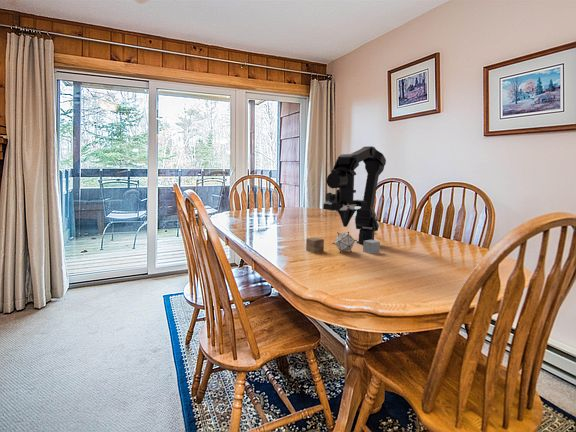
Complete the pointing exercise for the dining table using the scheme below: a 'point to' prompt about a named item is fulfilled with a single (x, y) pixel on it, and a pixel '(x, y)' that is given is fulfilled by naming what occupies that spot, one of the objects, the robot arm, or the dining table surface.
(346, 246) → the game die
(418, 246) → the dining table surface
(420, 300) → the dining table surface
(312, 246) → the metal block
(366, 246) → the slate block
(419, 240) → the dining table surface
